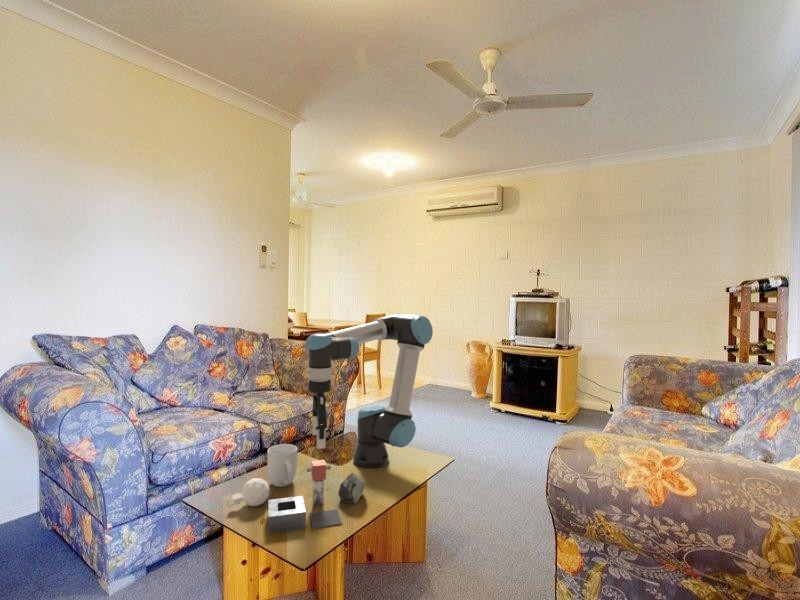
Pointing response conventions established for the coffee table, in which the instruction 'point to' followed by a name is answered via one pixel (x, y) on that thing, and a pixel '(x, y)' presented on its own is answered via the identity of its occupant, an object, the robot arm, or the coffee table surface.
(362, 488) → the stone
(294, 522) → the block
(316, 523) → the mat
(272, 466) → the mug
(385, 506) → the coffee table surface
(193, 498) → the coffee table surface
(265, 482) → the perfume bottle
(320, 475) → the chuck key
